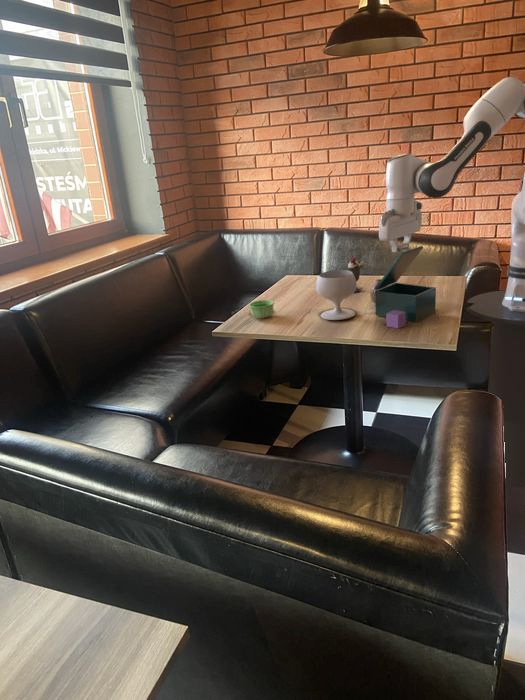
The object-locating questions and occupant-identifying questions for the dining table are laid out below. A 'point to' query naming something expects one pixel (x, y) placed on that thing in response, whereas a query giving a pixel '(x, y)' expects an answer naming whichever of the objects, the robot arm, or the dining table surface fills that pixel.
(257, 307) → the ramekin
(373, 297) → the vase
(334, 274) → the chalice
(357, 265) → the sundae
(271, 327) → the dining table surface
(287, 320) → the dining table surface
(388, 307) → the compartment
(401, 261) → the compartment lid
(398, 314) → the purple cube
